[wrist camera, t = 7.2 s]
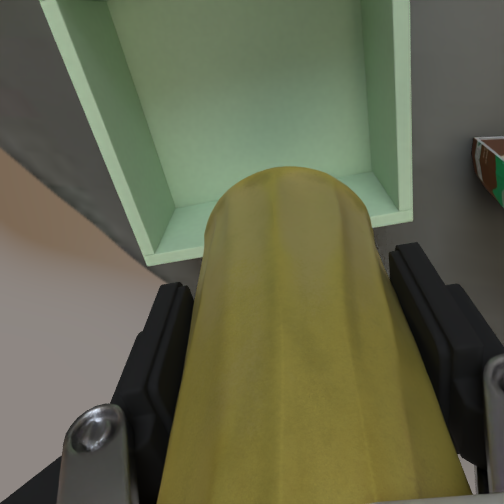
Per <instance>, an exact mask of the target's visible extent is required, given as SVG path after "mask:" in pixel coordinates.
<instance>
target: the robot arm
mask: <svg viewBox="0 0 504 504" xmlns="http://www.w3.org/2000/svg"><path fill="white" fill-rule="evenodd" d="M389 267H390V282H391V284H392V286H393V288H394V290H395V292H396V295H397V297H398V300H399V303H400V305H401V308H402V310H403V313H404V315H405V318H406V320H407V322H408V325H409V327H410V330H411V332H412V334H413V337H414V339H415V342H416V344H417V347H418V349H419V352H420V355H421V357H422V360H423V363H424V366H425V369H426V371H427V374H428V376H429V379H430V381H431V384H432V386H433V389H434V392H435V395H436V397H437V400H438V403H439V406H440V409H441V412H442V415H443V417H444V420H445V423H446V426H447V429H448V432H449V434H450V437H451V440H452V442H453V445H454V448H455V450H456V453H457V454H460V455H461V457H462V458H464V459H465V460H467V461H469V462H470V463H472V464H474V468H475V485H476V495H464V496H451V497H437V498H424V499H411V500H398V501H385V502H375V503H369V504H504V347H503V345H502V344H501V342H500V341H499V339H498V338H497V337H496V335H495V334H494V332H493V331H492V329H491V328H490V327H489V325H488V324H487V322H486V321H485V319H484V318H483V316H482V315H481V314H480V312H479V311H478V309H477V308H476V306H475V305H474V304H473V302H472V301H471V299H470V298H469V296H468V295H467V293H466V292H465V291H464V289H463V288H462V287H461V286H460V285H459V284H451V285H445V284H444V282H443V281H442V279H441V278H440V276H439V275H438V273H437V271H436V270H435V268H434V267H433V265H432V264H431V262H430V261H429V259H428V257H427V256H426V254H425V253H424V251H423V250H422V248H421V246H420V245H419V244H418V242H415V243H409V244H403V245H397V246H396V248H395V251H392V252H389ZM193 305H194V300H193V297H192V294H191V292H190V289H189V287H188V286H183V285H182V284H181V283H180V282H176V283H170V284H164V285H161V286H160V288H159V291H158V293H157V296H156V298H155V301H154V304H153V306H152V309H151V311H150V314H149V316H148V319H147V322H146V324H145V327H144V329H143V331H142V332H140V333H139V334H138V336H137V337H136V340H135V342H134V345H133V347H132V350H131V352H130V355H129V357H128V360H127V362H126V365H125V367H124V370H123V372H122V375H121V377H120V380H119V382H118V385H117V387H116V390H115V392H114V395H113V397H112V400H111V402H110V404H102V405H98V406H95V407H93V408H91V409H89V410H87V411H86V412H85V413H83V414H82V415H81V416H79V417H78V418H77V419H76V420H75V421H74V423H73V424H72V425H71V426H70V428H69V430H68V431H67V433H66V436H65V439H64V443H63V452H62V456H60V457H59V458H58V459H56V460H55V461H54V462H53V463H51V464H50V465H49V466H47V467H46V468H45V469H43V470H42V471H41V472H40V473H38V474H37V475H36V476H34V477H33V478H32V479H31V480H29V481H28V482H27V483H25V484H24V485H23V486H22V487H20V488H19V489H18V490H16V491H15V492H14V493H13V494H11V495H10V496H9V497H8V498H6V499H5V500H4V501H2V502H1V503H0V504H157V499H158V494H159V490H160V485H161V480H162V475H163V469H164V464H165V459H166V454H167V448H168V443H169V438H170V432H171V428H172V423H173V418H174V413H175V408H176V403H177V398H178V393H179V389H180V384H181V380H182V375H183V369H184V363H185V357H186V351H187V345H188V339H189V333H190V326H191V319H192V312H193Z"/></svg>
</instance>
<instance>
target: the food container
mask: <svg viewBox="0 0 504 504" xmlns="http://www.w3.org/2000/svg"><path fill="white" fill-rule="evenodd" d="M471 154H472V159H473V165H474V171H475V173H476V175H477V176H478V178H479V179H480V181H481V183H482V184H483V186H484V187H485V188H486V189H487V190H488V191H489V192H490V194H491V195H492V196H493V197H494V198H495V199H496V200H497V201H498V202H499V203H500V204H501V206H502V207H503V208H504V136H494V137H474V138H473V145H472V153H471Z"/></svg>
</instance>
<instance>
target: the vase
mask: <svg viewBox="0 0 504 504" xmlns="http://www.w3.org/2000/svg"><path fill="white" fill-rule="evenodd" d="M464 495H473V494H472V492H471V489H470V486H469V484H468V481H467V479H466V476H465V473H464V471H463V468H462V466H461V463H460V460H459V458H458V455H457V453H456V450H455V448H454V445H453V442H452V440H451V437H450V434H449V432H448V429H447V426H446V423H445V420H444V417H443V415H442V412H441V409H440V406H439V403H438V400H437V397H436V395H435V392H434V389H433V386H432V384H431V381H430V379H429V376H428V374H427V371H426V369H425V366H424V363H423V360H422V357H421V355H420V352H419V349H418V347H417V344H416V342H415V339H414V337H413V334H412V332H411V330H410V327H409V325H408V322H407V320H406V318H405V315H404V313H403V310H402V308H401V305H400V303H399V300H398V297H397V295H396V292H395V290H394V288H393V286H392V284H391V282H390V279H389V277H388V275H387V273H386V271H385V269H384V266H383V264H382V261H381V258H380V256H379V254H378V252H377V249H376V247H375V242H374V235H373V229H372V224H371V220H370V216H369V213H368V210H367V208H366V206H365V204H364V203H363V202H362V200H361V199H360V198H359V197H358V196H357V194H356V193H355V192H354V191H352V190H351V189H350V188H349V187H348V186H347V185H345V184H344V183H342V182H341V181H339V180H337V179H336V178H334V177H333V176H331V175H329V174H327V173H325V172H322V171H319V170H315V169H311V168H306V167H297V166H283V167H274V168H269V169H265V170H263V171H260V172H257V173H255V174H252V175H250V176H248V177H246V178H244V179H242V180H241V181H239V182H238V183H236V184H235V185H233V186H232V187H231V188H230V189H228V190H227V191H226V192H225V193H224V194H223V195H222V197H221V198H220V199H219V200H218V202H217V203H216V205H215V207H214V208H213V210H212V212H211V214H210V216H209V219H208V222H207V225H206V229H205V233H204V253H203V259H202V264H201V269H200V275H199V280H198V285H197V290H196V295H195V300H194V305H193V312H192V319H191V326H190V333H189V339H188V345H187V351H186V357H185V363H184V369H183V375H182V380H181V384H180V389H179V393H178V398H177V403H176V408H175V413H174V418H173V423H172V428H171V432H170V438H169V443H168V448H167V454H166V459H165V464H164V469H163V475H162V480H161V485H160V490H159V494H158V499H157V504H369V503H375V502H385V501H398V500H411V499H424V498H437V497H451V496H464Z"/></svg>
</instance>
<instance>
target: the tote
mask: <svg viewBox="0 0 504 504" xmlns="http://www.w3.org/2000/svg"><path fill="white" fill-rule="evenodd" d="M39 1H41V2H40V4H41V7H42V9H43V12H44V14H45V16H46V19H47V21H48V24H49V26H50V29H51V31H52V34H53V36H54V39H55V41H56V43H57V46H58V48H59V51H60V53H61V56H62V58H63V61H64V63H65V65H66V68H67V70H68V73H69V75H70V78H71V80H72V83H73V85H74V88H75V90H76V92H77V95H78V97H79V100H80V102H81V105H82V107H83V110H84V112H85V115H86V117H87V119H88V122H89V124H90V127H91V129H92V132H93V134H94V137H95V139H96V141H97V144H98V146H99V149H100V151H101V154H102V156H103V159H104V161H105V164H106V166H107V168H108V171H109V173H110V176H111V178H112V181H113V183H114V186H115V188H116V191H117V193H118V195H119V198H120V200H121V203H122V205H123V208H124V210H125V213H126V215H127V217H128V220H129V222H130V225H131V227H132V230H133V232H134V235H135V237H136V240H137V242H138V244H139V247H140V249H141V252H142V254H143V256H144V259H145V262H146V264H147V266H153V265H158V264H164V263H170V262H176V261H182V260H188V259H194V258H199V257H203V253H204V233H205V229H206V225H207V222H208V219H209V216H210V214H211V212H212V210H213V208H214V207H215V205H216V203H217V202H218V200H219V199H220V198H221V197H222V195H223V194H224V193H225V192H226V191H227V190H228V189H230V188H231V187H232V186H233V185H235V184H236V183H238V182H239V181H241V180H242V179H244V178H246V177H248V176H250V175H252V174H255V173H257V172H260V171H263V170H265V169H269V168H274V167H283V166H297V167H306V168H311V169H315V170H319V171H322V172H325V173H327V174H329V175H331V176H333V177H334V178H336V179H337V180H339V181H341V182H342V183H344V184H345V185H347V186H348V187H349V188H350V189H351V190H352V191H354V192H355V193H356V194H357V196H358V197H359V198H360V199H361V200H362V202H363V203H364V204H365V206H366V208H367V210H368V213H369V216H370V220H371V224H372V228H375V227H381V226H387V225H393V224H399V223H405V222H411V221H413V209H412V208H413V189H412V116H411V43H410V0H39Z"/></svg>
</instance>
